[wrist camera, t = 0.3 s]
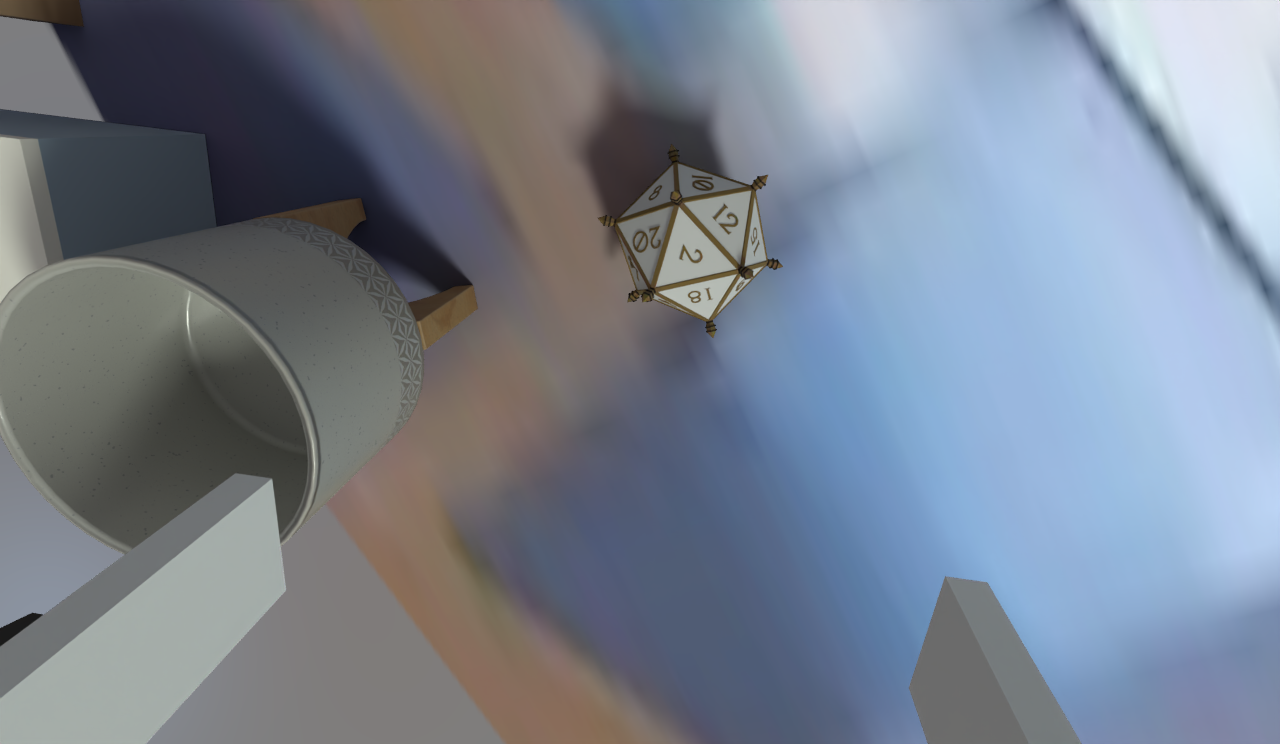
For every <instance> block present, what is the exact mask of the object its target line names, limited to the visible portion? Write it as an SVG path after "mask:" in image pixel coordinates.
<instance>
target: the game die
mask: <svg viewBox="0 0 1280 744" xmlns="http://www.w3.org/2000/svg"><path fill="white" fill-rule="evenodd" d="M678 151H679V150H677V149H676V148H675V147H674V146H673V145H672V144H671V146H670V149H669V152H668V154H669V159H670V160H671V161H672V164H671V165H670V166H669V167H668V168H667V169H666V170H665V171H664V172H663V173H662V174H661V175H660V176H659V177H658V178H657V179H656V180H655V181H654V182H653V183H652V184H651V185H650V186H649V187H648V188H647V189H646V190H645V191H644V192H643V193H642V194H641V195H640V196H639V197H638V198H637V199H636V200H635V201H634V202H633V203H632V204H631V205H630V206H629V207H628V208H627V209H626V210H625V211H624V212H623V213H622V214H621V215H620V216H619V217H618V218H617V219H613V218H612V216H610V217H609V216H607V215H606V216H603V217H599V218H598V219H599V220H600V222H601V223H602V224H603V226H605V225H606V226H608V227H609V226H614V227H615V229H616V232H617V235H618V238H619V241H620V244H621V247H622V250H623V252H624V255H625V258H626V261H627V264H628V267H629V270H630V273H631V276H632V279H633V282H634V285H635V288H636V290H635V291H632V292H631V293H629V297H628V301H627V302H631V301H633V302H634V301H637V300H636V299H638V298H639V296H640V295H642V296H641V297H642V302H649V301H652V300H655V301H657V302H660V303H662V304H665V305H667V306H669V307H672V308H674V309H677V310H679V311H682V312H684V313H686V314H689V315H691V316H694V317H696V318H698V319H701V320H703V321H706V323H707V324H706V327H705V328H706V329H707V331H706V332H707V333H708V334H709V335H710V336H711V337H712V338H713V337H714V334H715V332H716V330H717V329H716V328H715V326H716V325H714V323H713V319H714V318H715V317H716V316H717V315H718V314H719V313H720V312H721V311H722V310H723V309H724V308H725V307H726V306H727V305H728V304H729V303H730V302H731V301H732V300H733V299H734V298H735V297H736V296H737V295H738V294H739V293H740V292H741V291H742V290H743V289H744V288H745V287H746V286H747V285H748V284H749V283H750V282H751V281H752V280H753V279H754V278H755V277H756V275H757V274H758V273H759V272H760V271H761V270H762V269H763V268H764V267H765V266H768V267H769V268H773V270H776V269H777V268H780V267H783V266H782V265H781V264H780V263H779V261H778V259H777V260H774V258H772V259H767V253H766V247H765V242H764V236H763V230H762V225H761V219H760V213H759V208H758V202H757V196H756V190H757V189H762V186H765V185H766V184H765V183H766V180H767V177H768V175H765V176H757V179H756V180H754V182H753V184H752V185H748V184H745V183H742V182H739V181H736V180H733V179H730V178H727V177H723V176H720V175H717V174H714V173H711V172H708V171H705V170H702V169H699V168H696V167H693V166H690V165H687V164H683V163H680V162H679V161H678V157H679V155H678Z"/></svg>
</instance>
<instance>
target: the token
mask: <svg viewBox="0 0 1280 744" xmlns="http://www.w3.org/2000/svg"><path fill="white" fill-rule="evenodd" d="M0 16H3V17H10V18H17V19H24V20H30V21H38V22H47V23H56V24H64V25H73V26H82V27H84V25H83V19H82V14H81V8H80V3H79V0H0Z"/></svg>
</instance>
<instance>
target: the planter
mask: <svg viewBox="0 0 1280 744" xmlns="http://www.w3.org/2000/svg"><path fill="white" fill-rule="evenodd" d="M364 220H366V216H365V212H364V208H363V204H362V200H361V198H356V199H347V200H338V201H333V202H329V203H324V204H319V205H314V206H310V207H305V208H300V209H295V210H291V211H286V212H281V213H276V214H272V215H267V216H262V217H258V218H253V219H252V220H247V221H243V222H238V223H233V224H229V225H224V226H219V227H215V228H210V229H205V230H200V231H196V232H191V233H186V234H182V235H177V236H172V237H168V238H163V239H158V240H154V241H149V242H144V243H139V244H135V245H130V246H125V247H121V248H116V249H111V250H107V251H102V252H97V253H92V254H88V255H83V256H78V257H74V258H69V259H66V260H62V261H59V262H56V263H52V264H49V265H46V266H44V267H42V268H40V269H38V270H37V271H35V272H33V273H31V274H29V275H27V276H26V277H25V278H24V279H23V280H21V281H20V282H19V283H18V284H17V285H16V286H14V287H13V288H12V289H11V290H10V291H9V292H8V294H7V295H6V296H5V298H4V299H3V300H2V302H1V303H0V435H1V437H2V439H3V441H4V443H5V445H6V446H7V448H8V450H9V452H10V454H11V455H12V457H13V459H14V460H15V462H16V463H17V465H18V466H19V467H20V469H21V470H22V472H23V473H24V474H25V476H26V477H27V479H28V480H29V481H30V482H31V484H32V485H33V486H34V487H35V488H36V489H37V490H38V491H39V492H40V494H41V495H42V496H43V497H44V498H45V499H46V500H47V501H48V502H49V503H50V504H51V505H52V506H53V507H54V508H56V510H58V511H59V512H60V513H61V514H62V515H63V516H64V517H65V518H67V519H68V520H69V521H70V522H72V523H73V524H75V525H76V526H77V527H78V528H80V529H81V530H82V531H84V532H85V533H86V534H88V535H90V536H91V537H93V538H95V539H96V540H98V541H99V542H101V543H103V544H104V545H106V546H108V547H110V548H112V549H114V550H116V551H118V552H120V553H122V554H127V553H128V552H129V551H131V550H132V549H133V548H135V547H136V546H138V545H139V544H140V543H142V542H143V541H144V540H146V539H147V538H148V537H150V536H151V535H152V534H154V533H155V532H157V531H158V530H159V529H161V528H162V527H163V526H165V525H166V524H167V523H169V522H170V521H171V520H173V519H174V518H176V517H177V516H178V515H180V514H181V513H182V512H184V511H185V510H186V509H188V508H189V507H190V506H192V505H193V504H195V503H196V502H197V501H199V500H200V499H201V498H203V497H204V496H205V495H207V494H208V493H209V492H211V491H212V490H214V489H215V488H216V487H218V486H219V485H220V484H222V483H223V482H224V481H226V480H227V479H228V478H230V477H231V476H233V475H234V474H235V473H237V474H244V475H251V476H258V477H265V478H272V482H273V490H274V498H275V505H276V513H277V521H278V529H279V537H280V545H281V546H282V545H283V544H284V543H285V542H287V541H288V540H289V539H290V538H291V537H292V536H293V535H294V534H295V533H296V532H297V531H298V530H299V529H300V528H301V527H302V526H303V525H304V524H305V523H306V522H307V521H308V520H309V519H310V518H311V517H312V516H313V515H314V514H315V513H317V512H318V511H319V510H320V509H321V508H322V507H323V506H324V505H325V504H326V503H327V502H328V501H329V500H330V499H331V498H332V497H333V496H334V495H335V494H336V493H337V492H338V491H339V490H340V489H341V488H342V487H343V486H344V485H345V484H346V483H347V482H348V481H349V480H350V479H351V478H352V477H353V476H354V475H355V474H356V473H357V472H358V471H359V470H360V469H361V468H362V467H363V466H364V465H365V464H367V463H368V462H369V461H370V460H371V459H372V458H373V457H374V456H375V455H376V454H377V453H378V452H379V451H380V450H381V449H382V448H383V447H384V446H385V445H386V444H387V443H388V442H389V441H390V440H391V439H392V438H393V437H394V436H395V435H396V434H397V433H398V432H399V431H400V430H401V429H402V427H403V426H404V425H405V424H406V422H407V421H408V420H409V418H410V416H411V414H412V412H413V411H414V409H415V407H416V405H417V402H418V399H419V396H420V393H421V390H422V383H423V376H424V353H423V350H426V349H427V348H428V347H430V346H431V345H432V344H433V343H435V342H436V341H437V340H439V339H440V338H441V337H442V336H444V335H445V334H446V333H447V332H449V331H450V330H451V329H452V328H454V327H455V326H456V325H458V324H459V323H460V322H461V321H463V320H464V319H465V318H466V317H468V316H469V315H470V314H472V313H473V312H474V311H475V310H477V309H478V307H477V302H476V297H475V292H474V287H473V285H466V286H454V287H452V288H451V289H448V290H446V291H444V292H441V293H439V294H436V295H433V296H430V297H427V298H424V299H420V300H417V301H413V302H409V303H408V302H407V300H406V298H405V297H404V295H403V294H402V292H401V291H400V289H399V288H398V286H397V284H396V283H395V282H394V280H393V279H392V278H391V277H390V276H389V274H388V273H387V272H386V271H385V270H384V268H383V267H382V266H381V265H380V264H379V263H378V262H376V261H375V260H374V259H373V258H372V257H371V256H370V255H369V254H368V253H367V252H365V251H364V250H363V249H361V248H360V247H358V246H357V245H356V244H354V243H353V242H351V241H350V240H349V239H347V238H348V236H349V235H350V233H351V231H352V230H353V229H354V228H355V226H356V225H357V224H358V223H360V222H361V221H364Z"/></svg>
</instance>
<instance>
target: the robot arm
mask: <svg viewBox="0 0 1280 744" xmlns="http://www.w3.org/2000/svg"><path fill="white" fill-rule="evenodd" d="M285 591H286V586H285V577H284V570H283V562H282V554H281V545H280V537H279V529H278V521H277V513H276V505H275V498H274V490H273V482H272V478H265V477H258V476H251V475H244V474H237V473H235V474H234V475H233V476H231V477H230V478H228V479H227V480H226V481H224V482H223V483H222V484H220V485H219V486H218V487H216V488H215V489H214V490H212V491H211V492H209V493H208V494H207V495H205V496H204V497H203V498H201V499H200V500H199V501H197V502H196V503H195V504H193V505H192V506H190V507H189V508H188V509H186V510H185V511H184V512H182V513H181V514H180V515H178V516H177V517H176V518H174V519H173V520H171V521H170V522H169V523H167V524H166V525H165V526H163V527H162V528H161V529H159V530H158V531H157V532H155V533H154V534H152V535H151V536H150V537H148V538H147V539H146V540H144V541H143V542H142V543H140V544H139V545H138V546H136V547H135V548H133V549H132V550H131V551H129V552H128V553H127V554H125V555H124V556H123V557H121V558H120V559H119V560H117V561H116V562H115V563H113V564H112V565H110V566H109V567H108V568H107V569H105V570H104V571H102V572H101V573H100V574H98V575H97V576H95V577H94V578H93V579H91V580H90V581H89V582H87V583H86V584H85V585H83V586H82V587H81V588H79V589H78V590H76V591H75V592H74V593H72V594H71V595H70V596H68V597H67V598H66V599H64V600H63V601H62V602H60V603H59V604H57V605H56V606H55V607H53V608H52V609H51V610H49V611H48V612H47V613H45V614H44V615H42V614H36V613H31V614H29V615H27V616H25V617H23V618H20V619H18V620H16V621H14V622H12V623H10V624H8V625H6V626H4V627H1V628H0V744H146V743H147V742H148V741H149V739H151V737H152V736H153V735H154V734H155V733H156V732H157V731H158V730H159V729H160V728H161V727H162V725H163V724H164V723H165V722H166V721H167V720H168V719H169V718H170V717H171V716H172V714H173V713H174V712H175V711H176V710H177V709H178V708H179V707H180V706H181V705H182V703H183V702H184V701H185V700H186V699H187V698H188V697H189V696H190V695H191V694H192V693H193V692H194V690H195V689H196V688H197V687H198V686H199V685H200V684H201V683H202V682H203V681H204V679H205V678H206V677H207V676H208V675H209V674H210V673H211V672H212V671H213V669H214V668H215V667H216V666H217V665H218V664H219V663H220V662H221V661H222V660H223V659H224V657H225V656H226V655H227V654H228V653H229V652H230V651H231V650H232V649H233V648H234V647H235V645H236V644H237V643H238V642H239V641H240V640H241V639H242V638H243V637H244V636H245V635H246V633H247V632H248V631H249V630H250V629H251V628H252V627H253V626H254V624H256V623H257V621H258V620H259V619H260V618H261V617H262V616H263V615H264V614H265V613H266V612H267V610H268V609H269V608H270V607H271V606H272V605H273V604H274V603H275V602H276V601H277V599H278V598H279V597H280V596H281V595H282V594H283V593H284V592H285ZM909 689H910V692H911V695H912V698H913V701H914V704H915V707H916V710H917V713H918V716H919V719H920V722H921V725H922V728H923V731H924V734H925V737H926V740H927V743H928V744H1081V742H1080V740H1079V738H1078V737H1077V735H1076V733H1075V732H1074V730H1073V728H1072V726H1071V725H1070V723H1069V721H1068V720H1067V718H1066V716H1065V714H1064V713H1063V711H1062V709H1061V708H1060V706H1059V704H1058V702H1057V701H1056V699H1055V697H1054V696H1053V694H1052V692H1051V690H1050V689H1049V687H1048V685H1047V684H1046V682H1045V680H1044V678H1043V677H1042V675H1041V673H1040V672H1039V670H1038V668H1037V667H1036V665H1035V663H1034V661H1033V660H1032V658H1031V656H1030V655H1029V653H1028V651H1027V649H1026V648H1025V646H1024V644H1023V643H1022V641H1021V639H1020V637H1019V636H1018V634H1017V632H1016V631H1015V629H1014V627H1013V625H1012V624H1011V622H1010V620H1009V619H1008V617H1007V615H1006V613H1005V612H1004V610H1003V608H1002V607H1001V605H1000V603H999V602H998V600H997V598H996V596H995V595H994V593H993V591H992V590H991V588H990V586H989V584H988V583H987V582H980V581H973V580H966V579H960V578H953V577H946V576H945V579H944V582H943V585H942V588H941V591H940V594H939V597H938V600H937V603H936V606H935V609H934V612H933V615H932V618H931V622H930V625H929V628H928V631H927V634H926V637H925V640H924V643H923V646H922V649H921V652H920V655H919V658H918V661H917V665H916V668H915V671H914V674H913V677H912V680H911V683H910V686H909Z"/></svg>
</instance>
